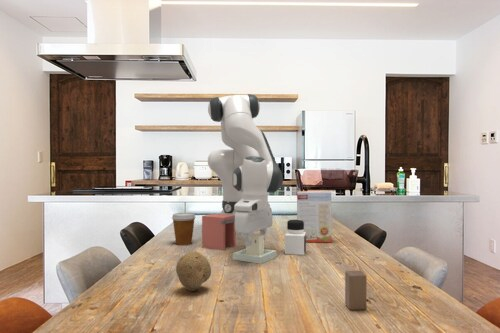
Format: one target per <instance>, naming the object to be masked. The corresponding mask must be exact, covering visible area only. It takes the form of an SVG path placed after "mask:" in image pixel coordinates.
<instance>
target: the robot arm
mask: <svg viewBox="0 0 500 333" xmlns="http://www.w3.org/2000/svg"><path fill="white" fill-rule="evenodd" d="M260 106H261V105H260V102H259V100H258V97H257V96H256V95H255V94H251V93H249V94H231V95H224V96H220V97H218V96H216V97H213V98H211V99H210V100H209V103H208V107H207V112H208V116H209V117H210V119H211V120H212V121H213V122H216V123H217V122H218V123H220V132H221V134H220V135H221V136H220V137H221V141H222V142H223V144H224V145H225V146H227V147H229V148H231V149H217V150H213V151H211V152H210V153H209V155H208V157H207V165H208V167H209V169H210V170H211V171H212V172H214V173H215V174H216V176H218V178H219V180H220V182H221V187H222V201H221V202H222V203H221V208H222V210H221V211H220V214H226V215H235V234H237V235H242V238H243V241H244V247H246V246H251V241H250V238H249V236H250V234H253V233H254V232H258V231H260V232H259V234H260V235H264V242H265V240H266V238H265V237H266V234H267V229H268V228H272V226H273V212H272V208H271V205H270V203H269V199H268V197H269V196H268V195H269V193H272V194H274V193H276V192H278V191H279V190H280V189H281V187H282V185H283V183H284V177H283V173H282V170H281V169H280V167H279V165H278V164H277V163H278V162H277V161H276V159H275V157H274V154H273V152H272V149H271V146H270V144H269V142H268V140H267V137H266V134H265V133H264V131H262V130H261V129H259V128H258V127H257V125H256V124H255V122H254V120H253V119H255V118H257V117H258V116H259V113H260V109H261V107H260Z"/></svg>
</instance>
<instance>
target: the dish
mask: <svg viewBox="0 0 500 333" xmlns="http://www.w3.org/2000/svg"><path fill="white" fill-rule="evenodd" d="M275 258H277V250H274V249H265V248H264V255H261V256H256V255H249V254H246V248H243V249H240V250H238V251H235V252H233V253H232V260H235V261H241V262H247V263H254V264H259V265H260V264H263V263H267V262H268V261H271V260H273V259H275Z"/></svg>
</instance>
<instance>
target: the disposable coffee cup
mask: <svg viewBox="0 0 500 333" xmlns="http://www.w3.org/2000/svg"><path fill="white" fill-rule="evenodd" d="M171 219H172V223H173V229H174V240H175V244H176V245H178V246H188V245H191V244H192V243H193V234H194V227H195V226H194V225H195V219H196V216H195V213H193V212H178V213H177V212H176V213H173V214H172V217H171Z"/></svg>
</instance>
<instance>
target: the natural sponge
mask: <svg viewBox="0 0 500 333" xmlns="http://www.w3.org/2000/svg"><path fill="white" fill-rule="evenodd" d="M175 271H176V274H177V278H178V280H179V282H180V284H181V285H182V286H183V287H184V288H185V289H186V290H188V291H189V292H194V291H197V290H198V289H199V288H200V287H201V286H202V285H203V284H204V283H205V282H207V281H208V280H209V279H210V277H211V275H212V267H211V263H210V262H209V260H208V258H207V257H206V256H205V255H203V254H202V253H200V252H197V251H190V252H187V253H185V254H183V255H182V256H181V257H180V258H179V259H178V260H177V263H176V267H175Z"/></svg>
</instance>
